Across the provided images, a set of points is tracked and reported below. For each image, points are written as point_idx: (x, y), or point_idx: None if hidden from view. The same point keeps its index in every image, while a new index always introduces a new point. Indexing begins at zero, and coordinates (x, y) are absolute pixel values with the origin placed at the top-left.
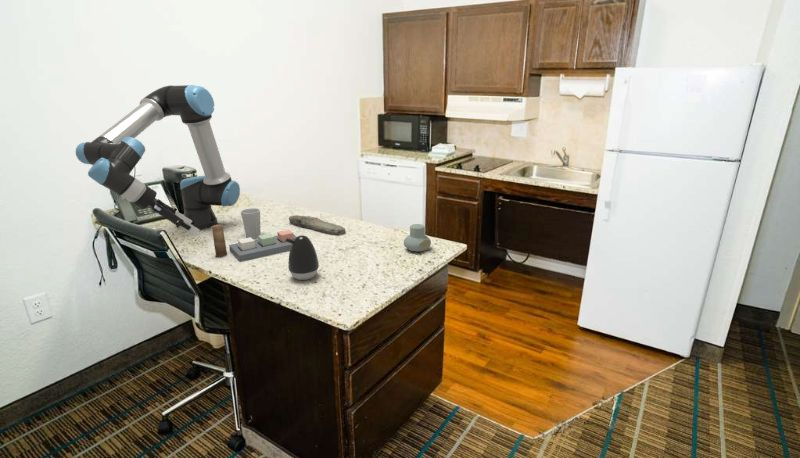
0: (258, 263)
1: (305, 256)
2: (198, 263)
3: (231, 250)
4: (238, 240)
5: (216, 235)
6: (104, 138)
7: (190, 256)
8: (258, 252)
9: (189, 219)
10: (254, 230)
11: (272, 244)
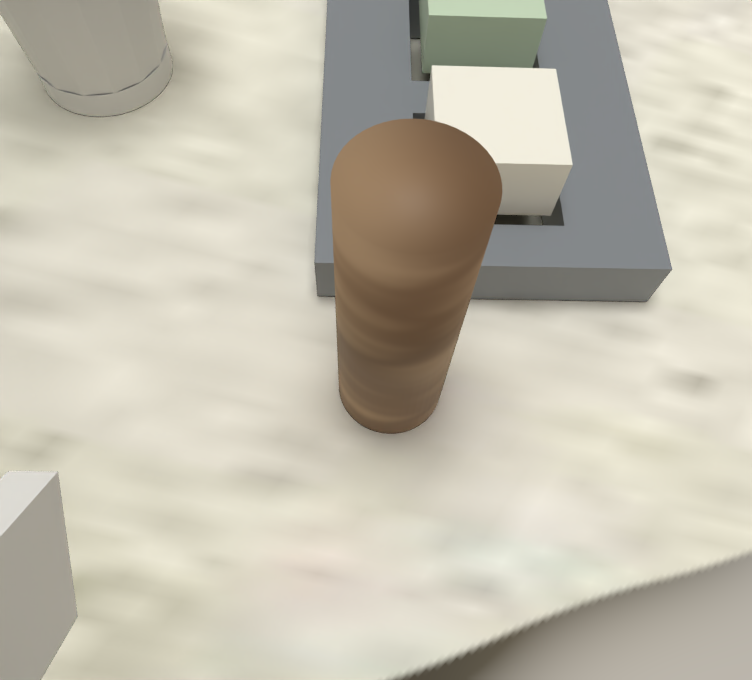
0: (745, 209)
1: None
2: (493, 638)
3: None
4: None
5: (469, 292)
6: None
7: (208, 672)
8: (635, 138)
9: (17, 519)
10: (152, 1)
11: (414, 28)
